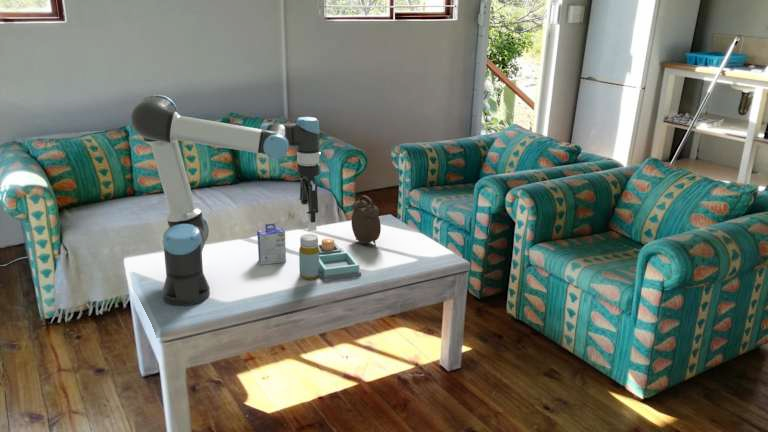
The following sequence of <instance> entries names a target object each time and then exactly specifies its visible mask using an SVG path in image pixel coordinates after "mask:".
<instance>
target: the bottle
mask: <svg viewBox="0 0 768 432" xmlns="http://www.w3.org/2000/svg"><path fill="white" fill-rule="evenodd" d="M299 241H300V246H299V249H298V251H299V252H298V254H299V255H298V257H299V263H298V264H299V265H298V266H299V276H300V277H301V279H303V280H309V281H310V280H315V279H318V277H319V276H320V274H319V248H318V245H319V243H318V242H319V237H318V235H316V234H311V233H310V234H309V233H307V234H306V233H305V234H302V235H300V240H299Z"/></svg>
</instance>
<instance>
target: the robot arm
mask: <svg viewBox="0 0 768 432" xmlns="http://www.w3.org/2000/svg"><path fill="white" fill-rule="evenodd" d="M178 111H179V110H178V108H177V105H176V104H175V103H174V101H173V100H172V99H171V98H169V97H168V96H165V95H163V94H153V95H150V96H147V97H144V99H142V101H141V102H140V103H138V104H137V105H135V106H134V108H133V109H132V111H131V114H130V124H131V126H132V128H133V131H134V132H136V134H137V135H139V136H140V137H142V138H143V141H144V142H145V144H147V145H149V146H150V147H151V152H152V155H153V158H154V161H155V166H156V168H157V169H156V170H157V172H158V176H159V179H160V180H159V181H160V183H161V186H162V189H163V193H164V196H165V201H166V204H167V208H168V211H169V213H168V215H167V217H166V221H167V224H168V228H167V229H166V230H165V231H164V233H163V238H162V245H163V251H164V252H163V253H164V263H165V274H166V277H165V280H164V283H163V284H164V285H163V289H162V292H161V293H162V299H163V301H164V302H165V303H167V304H169V305H173V306H180V307H181V306H192V305H196V304H199V303H202V302H203V301H205V300H207V299H209V297H210V294H211V289H210V286H209V283H208V280H207V278H206V276H205V274H204V269H203V268H204V267H203V254H202V253H203V249H204V247H205V244H206V242H207V240H208V238H209V232H210V231H209V228H210V227H209V225H208V224H209V223H208V222H207V220H206V218H204V216H203V213H202V210H201V208H199V207H197V206H196V204H195V200H194V197H193V192H192V190H191V186H190V181H189V179H188V174H187V172H186V168H185V163H184V159H183V156H182V153H181V148H180V145H179V141H181V142H187V143H193V144H199V145H205V146H211V147H217V148H218V147H219V148H224V149H231V150H236V151H244V152H249V153H255V154H261V155H266V156H267V157H268V158H270V159H272V160H279V159H282V158H284V156H286V155H287V153H288V151H289V149H290V147H296V163H297V165H296V167H297V171H296V172H297V173H296V174H297V175H298V176H299V178H300V183H299V184H300V185H299V187H300V188H299V200H300V203H301V222H302V223H306V222H307V224H308V226H307V230H308V232H312V231H317V214H318V213H319V201H318V184H317V183H316V180H315V177H317V176H319V175H320V156H321V155H322V153H321V152H320V121H319V120H318V118H316V117H312V116H300V117H297V119H296V122H295V123H272V122H270V123H263V124H261V125H260V127H259V128H255V127H250V126H245V125H238V124H233V123H226V122H221V121H220V122H219V121H215V120H209V119H202V118H196V117H189V116H184V115H180V114H179V112H178Z"/></svg>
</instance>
